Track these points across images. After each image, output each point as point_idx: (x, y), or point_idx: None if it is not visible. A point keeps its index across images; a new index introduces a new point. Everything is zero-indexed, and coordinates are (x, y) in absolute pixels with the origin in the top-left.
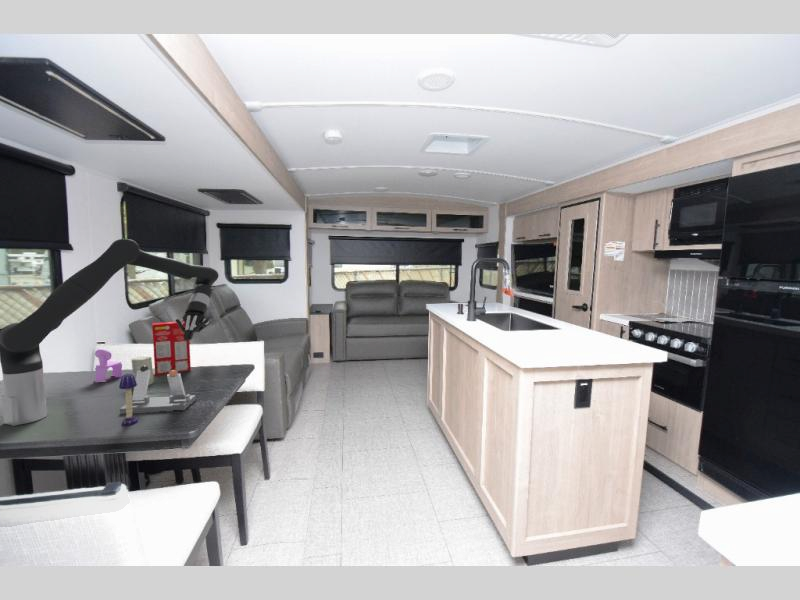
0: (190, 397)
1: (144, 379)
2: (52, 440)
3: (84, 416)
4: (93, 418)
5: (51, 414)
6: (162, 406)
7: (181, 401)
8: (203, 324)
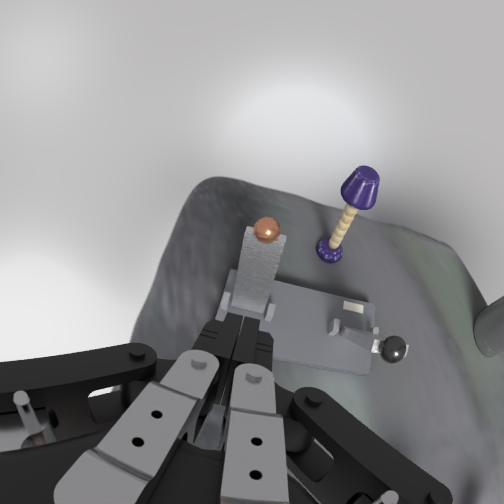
0: None
1: (369, 335)
2: (408, 231)
3: (425, 321)
4: (406, 303)
5: (474, 349)
6: (283, 282)
7: None
8: (49, 364)
